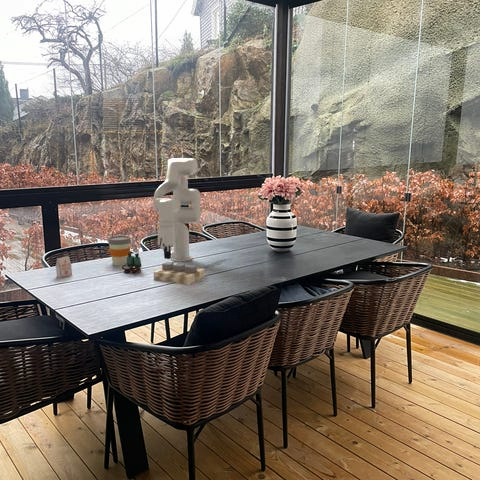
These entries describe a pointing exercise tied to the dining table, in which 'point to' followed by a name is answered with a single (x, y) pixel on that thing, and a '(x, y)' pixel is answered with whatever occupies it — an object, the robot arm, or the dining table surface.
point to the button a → (167, 266)
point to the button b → (179, 267)
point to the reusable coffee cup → (119, 249)
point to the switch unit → (179, 276)
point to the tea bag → (63, 267)
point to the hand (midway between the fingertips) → (167, 258)
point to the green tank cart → (132, 264)
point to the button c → (191, 269)
